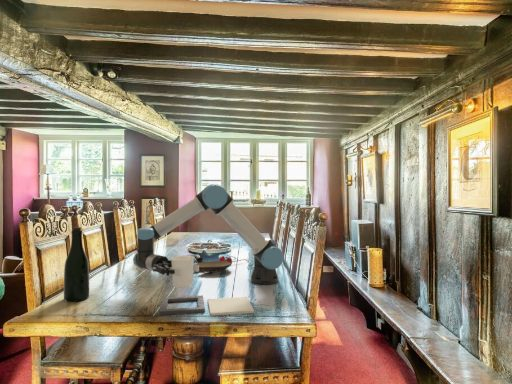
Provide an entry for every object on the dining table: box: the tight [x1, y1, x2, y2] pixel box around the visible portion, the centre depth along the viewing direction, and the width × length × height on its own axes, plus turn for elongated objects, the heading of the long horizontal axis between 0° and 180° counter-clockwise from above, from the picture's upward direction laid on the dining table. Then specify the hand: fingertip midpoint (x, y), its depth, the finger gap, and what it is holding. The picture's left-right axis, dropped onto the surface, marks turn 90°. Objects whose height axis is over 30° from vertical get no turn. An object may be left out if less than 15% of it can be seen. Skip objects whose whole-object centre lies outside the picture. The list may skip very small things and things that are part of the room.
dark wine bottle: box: [63, 226, 90, 303], centre depth 158 cm, size 10×10×33 cm
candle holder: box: [170, 255, 195, 289], centre depth 149 cm, size 10×10×12 cm
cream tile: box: [207, 296, 255, 316], centre depth 149 cm, size 18×18×1 cm
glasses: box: [218, 255, 250, 265], centre depth 240 cm, size 14×16×5 cm
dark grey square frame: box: [159, 295, 206, 316], centre depth 149 cm, size 18×18×2 cm
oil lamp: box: [193, 254, 232, 273], centre depth 215 cm, size 22×30×8 cm
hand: (189, 270), depth 146 cm, fingers closed on candle holder, 9 cm apart
